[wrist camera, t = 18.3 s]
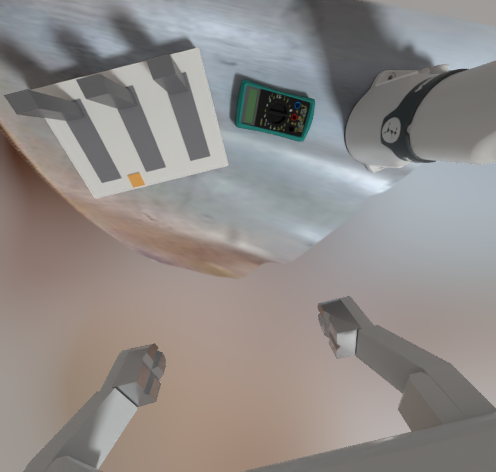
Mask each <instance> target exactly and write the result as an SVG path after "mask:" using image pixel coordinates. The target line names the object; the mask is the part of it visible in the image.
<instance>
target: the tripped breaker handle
mask: <svg viewBox="0 0 496 472" xmlns="http://www.w3.org/2000/svg"><path fill="white" fill-rule="evenodd" d="M76 81H77V83H78V85H79V87H80V89H81V91H82V93H83V94H84V96H85V98H86V99H87V100H90V101H94V102H97V103H100V104H103V105H107V106H110V107H113V108H116V109H120V110H121V109H125V108H129V107H133V106H137V104H136V101H135V99H134V96H133V94H132V92H131V91H130V90H129V89H127V88H125V87H123V86H121V85H119V84H118V83H116V82H114V81H112V80H110V79H108V78H107V77H105V76H103V75H101V74H96V75H92V76H88V77H84V78H80V79H76Z"/></svg>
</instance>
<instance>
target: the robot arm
mask: <svg viewBox="0 0 496 472" xmlns="http://www.w3.org/2000/svg"><path fill="white" fill-rule="evenodd" d="M448 66H449V64H442V65H437V66H434V67H432V68H431V69H430V68H423V69H420V70H385V71H382V72H380V73H379V74H378V75H377V77H376V78H375V80H374V82H373V84H372V86H371V88H370V89H369V91H368V92H367V93H366V94H365V95H364V96H363V97H362V98H361V99H360V100H359V102H358V103H357V104H356V106H355V107H354V109H353V110H352V112H351V114H350V117H349V119H348V122H347V126H346V134H345V138H346V145H347V148H348V151H349V153H350V154H351V155H352V157H353V158H355V159H356V160H358V161H360V162H362V163H363V164H365V166H366V167H367V169H368V170H369V171H370V172H378V171H380V170H382V169H384V168H387V167H392V168H401V167H403V165H406V164H409V163H411V162H414V163H430V162H435V161H445V162H456V163H468V164H480V165H481V164H490V163H495V162H496V61H493V62H490V63H487V64H484V65H481V66H478V67H475V68H472V69H458V70H452V71H448V70H447V69H448ZM389 77H390V80H388V78H389ZM318 310H319V312H320V313H319V315H318V318H319V323H320V326H321V328H322V331H323V333H324V335H325V336H327V337H328V338H329V345H330V347H331V349H332V350H333V353H334V354H335V356H336V358H337V359H339V358H344V357H348V356H353V355H356V357H358V358H359V359H360V360H361V361H363V362H364V363H365V364H366V365H368V366H369V367H370V368H371V369H373V370H374V371H375V372H376V373H378V374H379V375H380V376H382V377H383V378H384V379H385V380H386V381H388V382H389V383H390V384H391V385H393V386H394V387H395V388H396V389H398V390H399V391H400V392H401V393H403V395H402V398H401V400H400V403H399V407H398V410H399V412H400V414H401V415H402V417H403V418H404V420H405V422H406V423H407V425H408V426H409V428H410V429H411V431H412V432H408V433H404V434H400V435H396V436H392V437H387V438H383V439H378V440H374V441H370V442H366V443H362V444H357V445H353V446H348V447H344V448H340V449H336V450H331V451H328V452H323V453H319V454H314V455H311V456H306V457H302V458H297V459H293V460H289V461H284V462H280V463H276V464H272V465H268V466H263V467H259V468H255V469H251V470H246V471H242V472H496V408H495V407H494V406H493V405H492V404H491V403H490V402H489V401H488V400H487V399H486V398H485V397H484V396H483V395H482V394H481V393H480V392H479V391H478V390H477V389H476V388H475V387H474V386H473V385H472V384H471V383H470V382H469V381H468V380H467V379H466V378H465V377H464V376H463V375H462V374H461V373H459V371H457V369H456V368H454V367H453V365H451V364H450V363H448V362H446V361H445V360H443V359H441V358H439V357H437V356H435V355H433V354H431V353H430V352H428V351H426V350H424V349H421V348H420V347H418V346H416V345H414V344H413V343H411V342H409V341H407V340H405V339H403V338H401V337H399V336H397V335H396V334H394V333H392V332H390V331H388V330H386V329H384V328H382V327H381V326H378V325H375V326H374V325H373V324H372V322H371V321H370V320H369V319H368V317H367V316H366V315H365V314H364V312H363V311H362V310H361V309H360V308H359V306H358V305H357V304H356V303H355V302H354V300H353V299H352V298H351V297H350V296H347V297H343V298H339V299H334V300H330V301H327V302H323V303H319V304H318ZM157 350H158V346H157V345H156V344H155V343H154V344H150V345H145V346H140V347H136V348H131V349H127V350H123V351H122V352H121V353H120V354H119V355H118V357H117V359H116V361H115V363H114V365H113V367H112V369H111V371H110V372H109V374H108V376H107V378H106V380H105V383H104V384H103V386H102V388H101V390H100V391H99V392H96V393H95V394H94V395H93V396H92V398H90V400H89V401H88V402H87V403H86V404H85V405H84V406H83V407H82V408H81V409H80V410H79V411H78V412H77V413H76V414H75V415H74V416H73V417H72V418H71V419H70V421H68V423H67V424H66V425H65V426H64V427H63V428H62V429H61V430H60V431H59V432H58V433H57V434H56V435H55V436H54V437H53V438H52V439H51V440H50V441H49V442H48V444H47V445H46V446H45V447H44V448H43V449H42V450H41V451H40V452H39V453H38V454H37V455H36V456H35V457H34V458H33V459H32V460H31V461H30V462H29V464H28V465H27V467H26V468H25V470H24V472H102V471H100V470H98V468H99V467H100V465H101V464H102V462H103V461H104V459H105V457H106V456H107V454H108V453H109V452H110V450H111V448H112V447H113V445H114V444H115V442H116V441H117V439H118V438H119V436H120V435H121V433H122V432H123V430H124V429H125V427H126V425H127V424H128V423H129V421H130V419H131V418H132V416H133V415H134V413H135V412H136V410H137V409H138V407H139V406H143V405H147V404H150V403H154V402H156V400H157V397H158V393H159V390H160V386H161V383H160V381H159V379H160V378H161V377H162V375H163V374H164V371H165V367H166V359H165V356H164V354H163V353H162V352H159V351H157Z"/></svg>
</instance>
